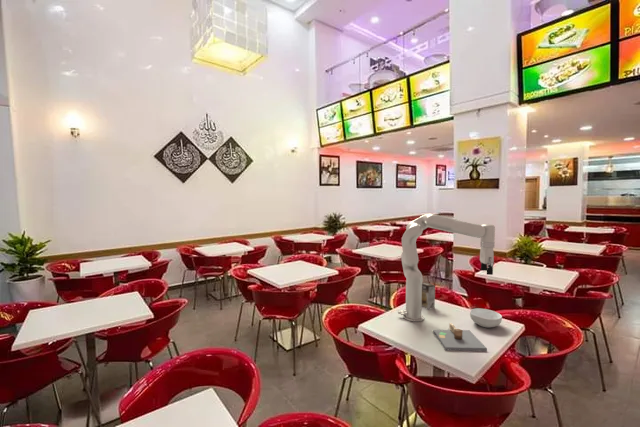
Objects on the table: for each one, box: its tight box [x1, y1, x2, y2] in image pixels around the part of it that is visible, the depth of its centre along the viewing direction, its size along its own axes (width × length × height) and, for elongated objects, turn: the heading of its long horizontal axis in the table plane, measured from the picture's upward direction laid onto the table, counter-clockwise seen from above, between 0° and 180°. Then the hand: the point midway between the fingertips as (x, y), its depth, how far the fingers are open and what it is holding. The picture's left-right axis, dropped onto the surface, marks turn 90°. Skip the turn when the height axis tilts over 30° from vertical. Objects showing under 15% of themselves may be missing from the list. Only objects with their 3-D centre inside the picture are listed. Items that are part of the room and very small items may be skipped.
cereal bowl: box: [469, 307, 503, 329], centre depth 181 cm, size 17×17×7 cm
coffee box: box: [422, 281, 436, 310], centre depth 211 cm, size 9×6×16 cm
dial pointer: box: [448, 322, 463, 340], centre depth 166 cm, size 13×4×4 cm, turn 177°
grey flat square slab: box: [432, 329, 488, 352], centre depth 161 cm, size 20×20×2 cm
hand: (486, 272), depth 185 cm, fingers open, 9 cm apart
